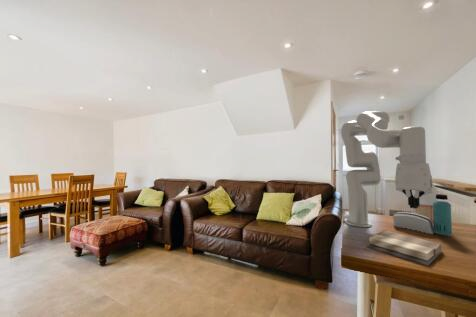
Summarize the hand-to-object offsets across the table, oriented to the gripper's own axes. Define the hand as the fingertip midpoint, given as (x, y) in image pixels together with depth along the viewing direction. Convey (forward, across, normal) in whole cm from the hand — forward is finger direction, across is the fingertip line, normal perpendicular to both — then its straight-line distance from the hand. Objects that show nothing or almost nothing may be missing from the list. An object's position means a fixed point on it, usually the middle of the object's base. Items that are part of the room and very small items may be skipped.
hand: (413, 207), depth 77 cm
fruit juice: (+20, -9, +52) cm, 57 cm away
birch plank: (+18, -6, +2) cm, 19 cm away
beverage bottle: (+20, 0, +37) cm, 42 cm away
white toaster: (+20, -11, +38) cm, 44 cm away
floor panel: (+19, -6, +5) cm, 21 cm away
